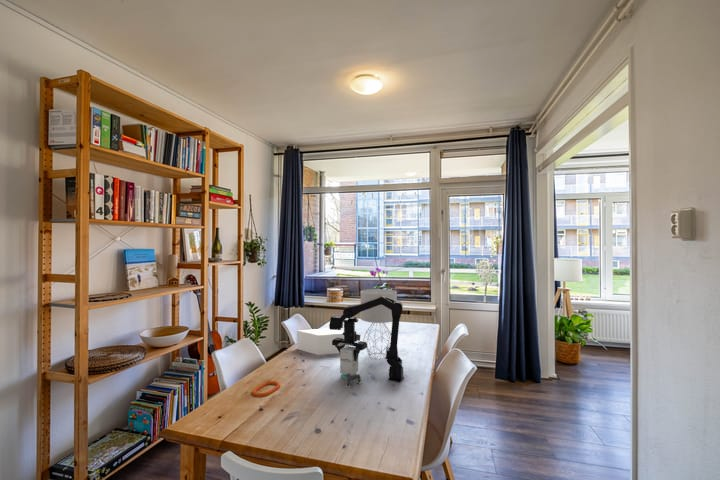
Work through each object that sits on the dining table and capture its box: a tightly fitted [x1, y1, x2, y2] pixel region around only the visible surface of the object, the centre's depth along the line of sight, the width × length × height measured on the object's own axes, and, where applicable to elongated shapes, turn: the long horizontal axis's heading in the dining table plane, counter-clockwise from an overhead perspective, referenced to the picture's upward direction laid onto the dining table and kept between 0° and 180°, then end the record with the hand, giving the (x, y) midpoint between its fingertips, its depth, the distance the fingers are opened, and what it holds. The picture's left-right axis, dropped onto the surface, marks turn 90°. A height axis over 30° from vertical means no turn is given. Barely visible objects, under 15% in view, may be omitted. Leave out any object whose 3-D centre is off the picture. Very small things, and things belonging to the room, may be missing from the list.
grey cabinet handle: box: [345, 373, 362, 389], centre depth 160 cm, size 8×9×4 cm
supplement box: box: [339, 345, 359, 376], centre depth 170 cm, size 7×7×13 cm
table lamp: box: [360, 288, 398, 360], centre depth 201 cm, size 22×22×40 cm
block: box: [296, 327, 350, 356], centre depth 211 cm, size 18×35×12 cm, turn 80°
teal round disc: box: [340, 373, 358, 380], centre depth 170 cm, size 9×9×1 cm
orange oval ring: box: [251, 380, 281, 398], centre depth 154 cm, size 10×2×15 cm
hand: (349, 359), depth 170 cm, fingers closed on supplement box, 7 cm apart
